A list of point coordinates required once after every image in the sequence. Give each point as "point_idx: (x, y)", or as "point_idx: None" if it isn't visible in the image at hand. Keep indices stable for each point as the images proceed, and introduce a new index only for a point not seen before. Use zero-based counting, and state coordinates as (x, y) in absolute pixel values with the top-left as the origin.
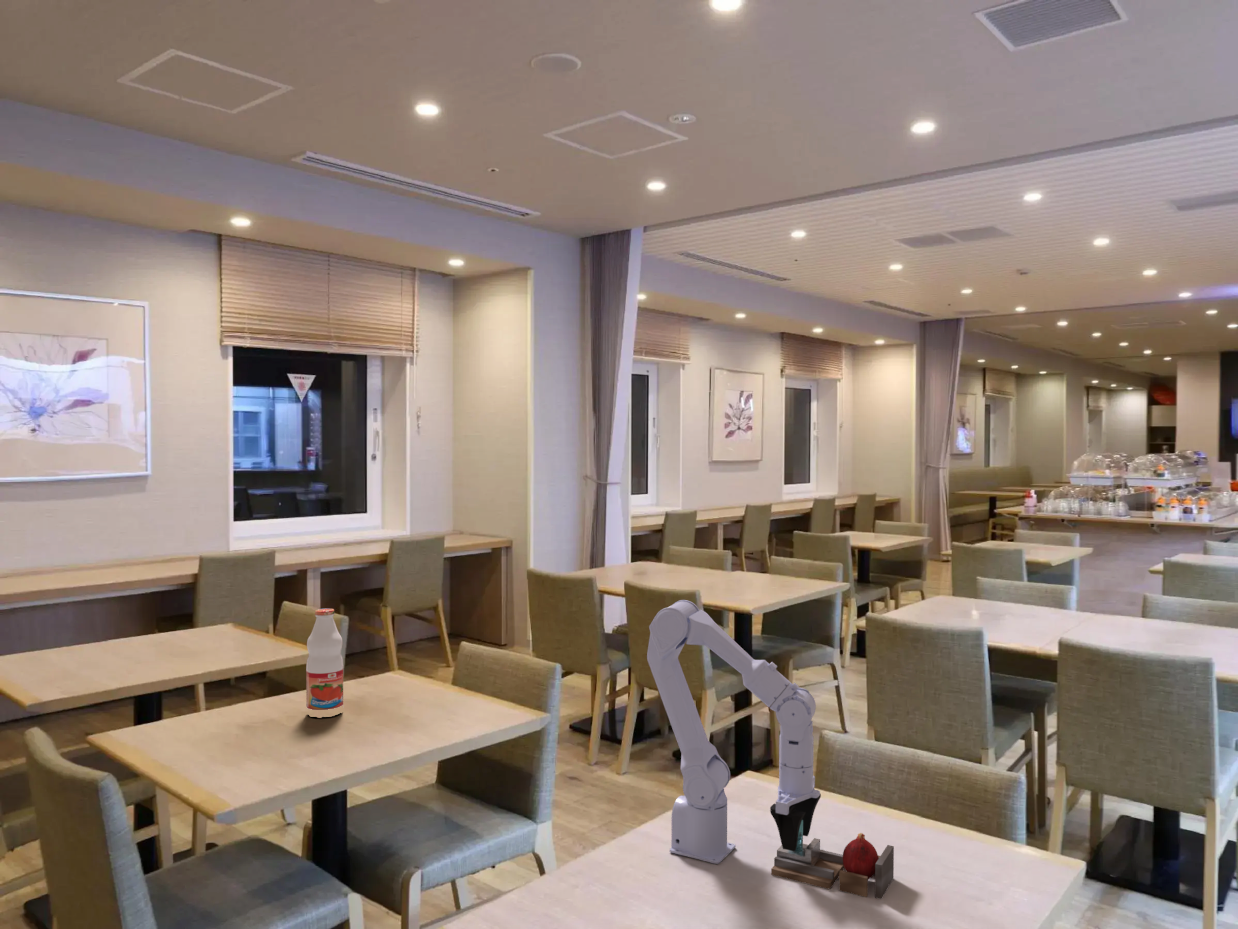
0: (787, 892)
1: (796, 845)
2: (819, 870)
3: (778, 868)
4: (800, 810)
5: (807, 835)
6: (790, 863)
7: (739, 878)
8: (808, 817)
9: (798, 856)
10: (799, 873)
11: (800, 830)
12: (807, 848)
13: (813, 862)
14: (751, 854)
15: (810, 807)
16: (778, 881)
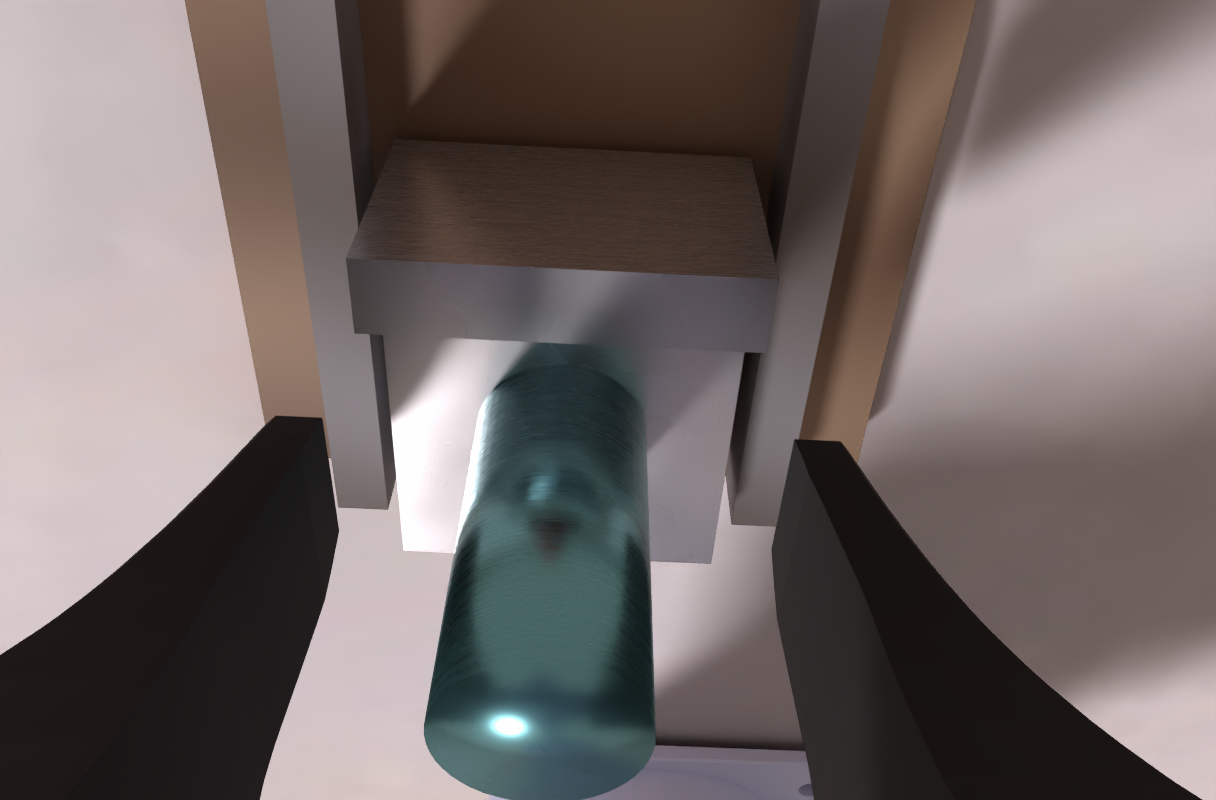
0: (1167, 240)
1: (824, 471)
2: (873, 47)
3: (822, 435)
4: (219, 770)
5: (309, 423)
6: (804, 380)
7: (988, 605)
8: (229, 608)
9: (741, 359)
10: (864, 243)
11: (607, 567)
12: (744, 333)
13: (660, 173)
14: None
15: (159, 744)
16: (950, 364)
